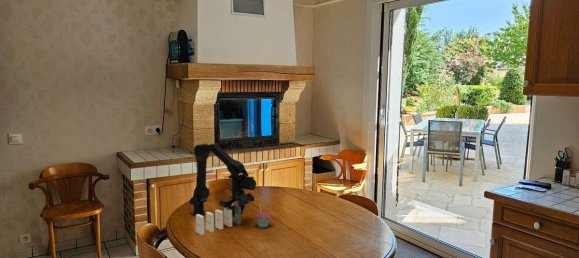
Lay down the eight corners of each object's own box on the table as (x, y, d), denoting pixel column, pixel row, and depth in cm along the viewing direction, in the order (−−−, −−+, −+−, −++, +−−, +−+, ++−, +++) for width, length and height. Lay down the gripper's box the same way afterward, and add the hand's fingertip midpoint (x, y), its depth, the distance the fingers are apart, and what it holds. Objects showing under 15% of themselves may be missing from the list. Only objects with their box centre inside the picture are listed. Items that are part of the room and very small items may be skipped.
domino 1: (201, 235, 192) (200, 217, 191) (196, 232, 196) (195, 214, 195) (204, 234, 193) (203, 216, 192) (199, 231, 197) (198, 214, 196)
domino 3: (220, 229, 200) (220, 212, 199) (215, 227, 203) (215, 210, 202) (223, 229, 201) (223, 211, 200) (218, 226, 204) (217, 209, 203)
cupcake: (256, 229, 201) (256, 206, 199) (253, 223, 209) (253, 201, 207) (273, 228, 203) (273, 205, 202) (269, 222, 211) (269, 200, 210)
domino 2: (211, 232, 196) (210, 214, 195) (205, 229, 199) (205, 212, 198) (213, 231, 197) (213, 214, 196) (208, 228, 200) (208, 211, 199)
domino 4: (229, 227, 203) (229, 210, 202) (224, 224, 207) (223, 208, 205) (232, 226, 204) (231, 209, 203) (227, 223, 208) (226, 207, 207)
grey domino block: (238, 224, 207) (238, 207, 206) (233, 222, 211) (233, 205, 209) (241, 223, 208) (241, 207, 207) (235, 221, 212) (235, 205, 211)
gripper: (230, 194, 195) (231, 224, 197) (260, 187, 207) (260, 216, 209) (218, 189, 203) (218, 218, 205) (248, 183, 216) (247, 211, 217)
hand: (237, 216), depth 209 cm, fingers open, 4 cm apart
